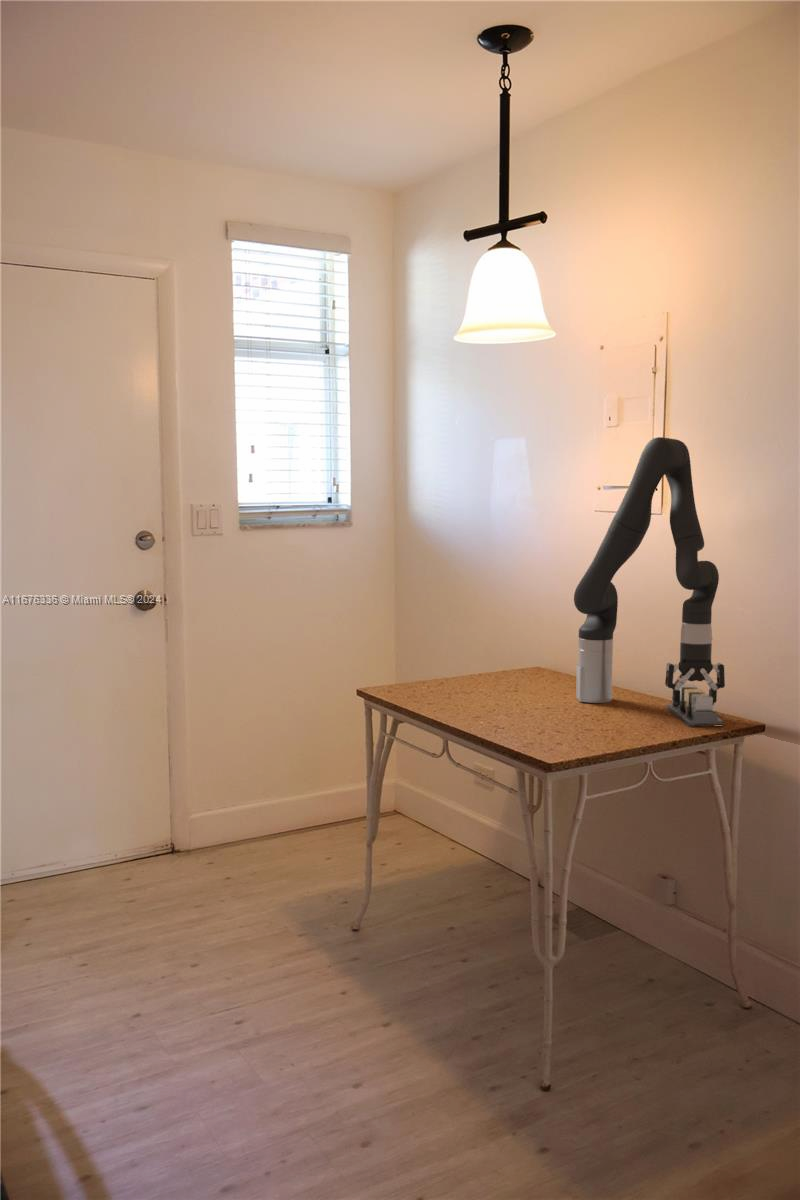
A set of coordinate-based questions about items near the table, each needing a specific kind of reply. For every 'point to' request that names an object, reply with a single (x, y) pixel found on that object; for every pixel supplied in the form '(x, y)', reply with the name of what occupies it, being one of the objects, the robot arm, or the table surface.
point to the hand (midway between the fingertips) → (694, 704)
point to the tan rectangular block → (690, 696)
